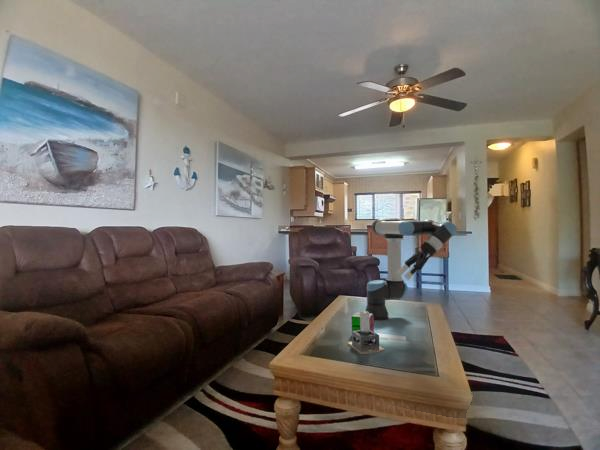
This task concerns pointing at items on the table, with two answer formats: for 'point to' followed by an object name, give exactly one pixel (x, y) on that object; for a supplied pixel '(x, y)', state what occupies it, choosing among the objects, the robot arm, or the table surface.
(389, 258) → the robot arm
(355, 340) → the collar stand
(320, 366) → the table surface
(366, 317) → the tube
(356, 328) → the puzzle cube
